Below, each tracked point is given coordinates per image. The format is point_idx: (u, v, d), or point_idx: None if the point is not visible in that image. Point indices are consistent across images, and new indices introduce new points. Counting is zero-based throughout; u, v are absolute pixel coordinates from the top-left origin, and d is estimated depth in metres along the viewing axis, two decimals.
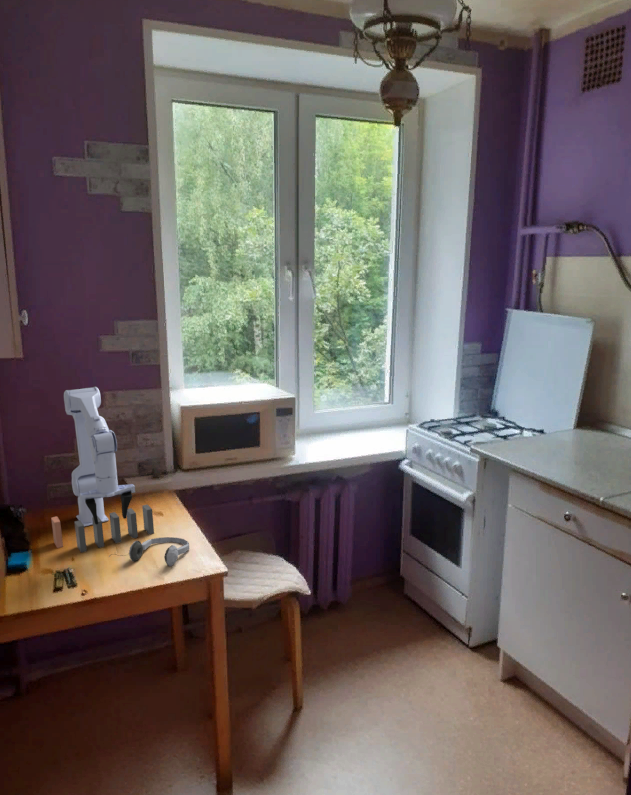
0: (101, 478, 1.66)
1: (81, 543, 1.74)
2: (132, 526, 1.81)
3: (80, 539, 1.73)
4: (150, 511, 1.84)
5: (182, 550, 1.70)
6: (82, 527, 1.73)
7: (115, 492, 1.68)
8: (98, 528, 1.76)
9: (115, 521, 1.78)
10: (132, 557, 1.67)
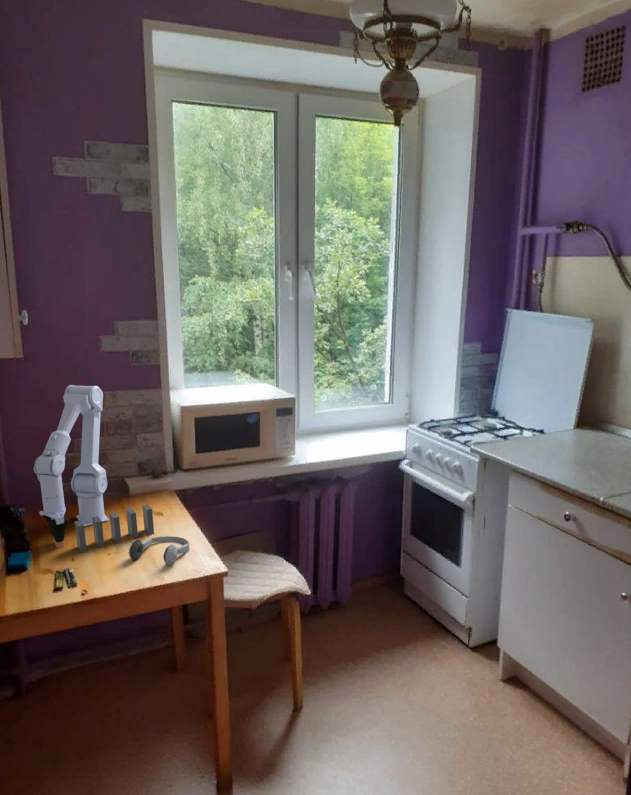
0: None
1: (81, 543, 1.74)
2: (132, 526, 1.81)
3: (80, 539, 1.73)
4: (150, 511, 1.84)
5: (182, 549, 1.70)
6: (82, 527, 1.73)
7: (46, 513, 1.74)
8: (98, 528, 1.76)
9: (115, 521, 1.78)
10: (132, 556, 1.68)
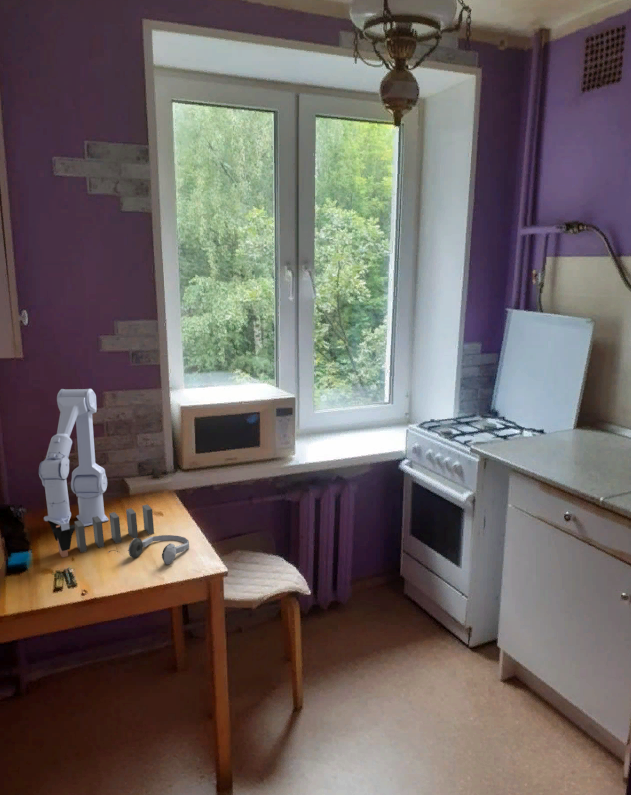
0: None
1: (81, 543, 1.74)
2: (132, 526, 1.81)
3: (80, 539, 1.73)
4: (150, 511, 1.84)
5: (181, 549, 1.71)
6: (82, 527, 1.73)
7: (50, 519, 1.68)
8: (98, 528, 1.76)
9: (115, 521, 1.78)
10: (131, 554, 1.69)
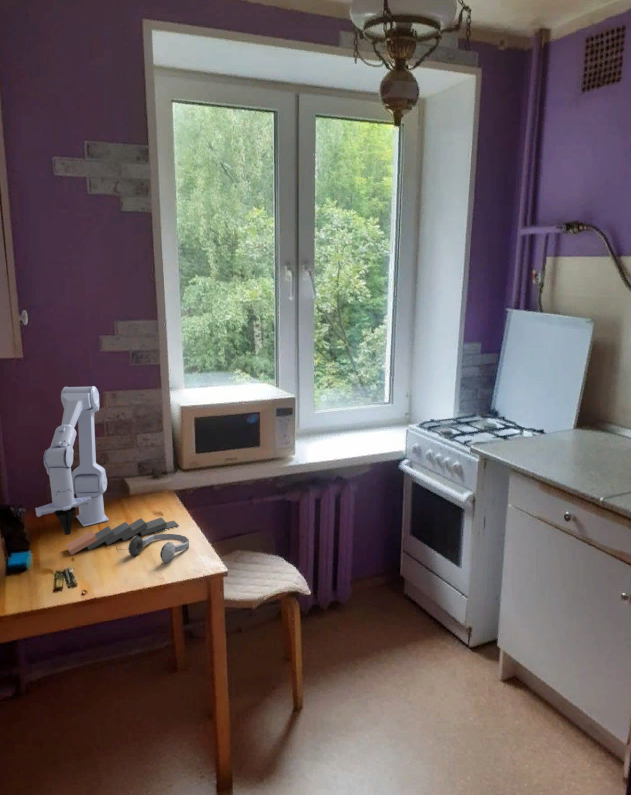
0: (57, 492, 1.67)
1: (96, 542, 1.76)
2: (153, 527, 1.85)
3: (100, 539, 1.77)
4: None
5: (180, 548, 1.72)
6: (112, 535, 1.78)
7: (72, 505, 1.70)
8: (124, 531, 1.80)
9: (143, 525, 1.83)
10: (131, 552, 1.70)
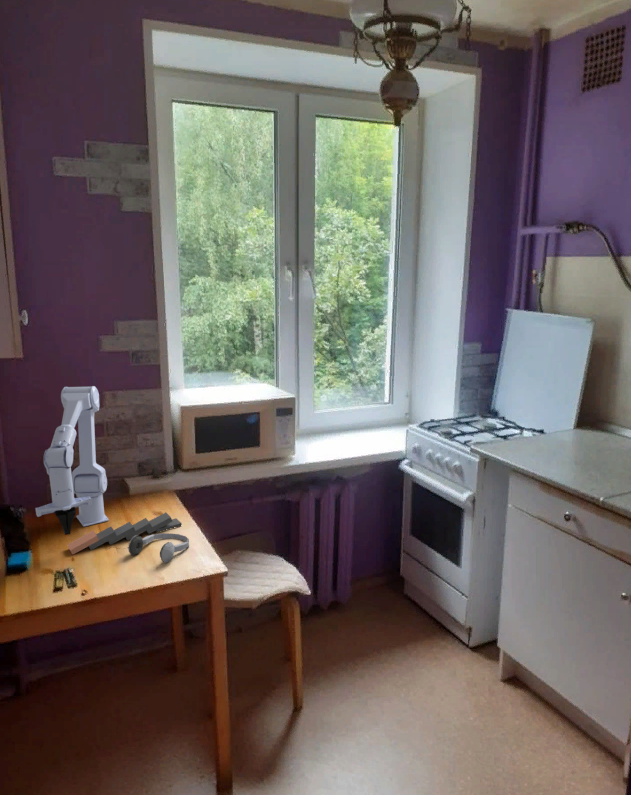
0: (57, 492, 1.67)
1: (98, 541, 1.76)
2: (159, 524, 1.86)
3: (102, 539, 1.77)
4: None
5: (180, 547, 1.72)
6: (114, 535, 1.78)
7: (72, 505, 1.70)
8: (128, 531, 1.80)
9: (147, 525, 1.84)
10: (131, 551, 1.70)
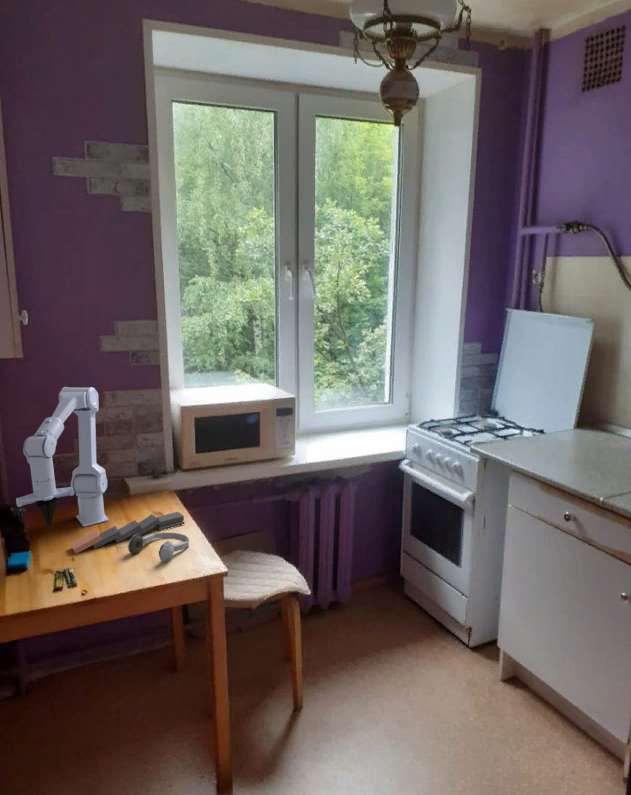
0: (38, 482, 1.64)
1: (103, 541, 1.77)
2: (171, 519, 1.90)
3: (106, 538, 1.77)
4: None
5: (179, 547, 1.72)
6: (118, 535, 1.79)
7: (53, 495, 1.66)
8: (134, 529, 1.82)
9: (155, 521, 1.86)
10: (131, 550, 1.71)
